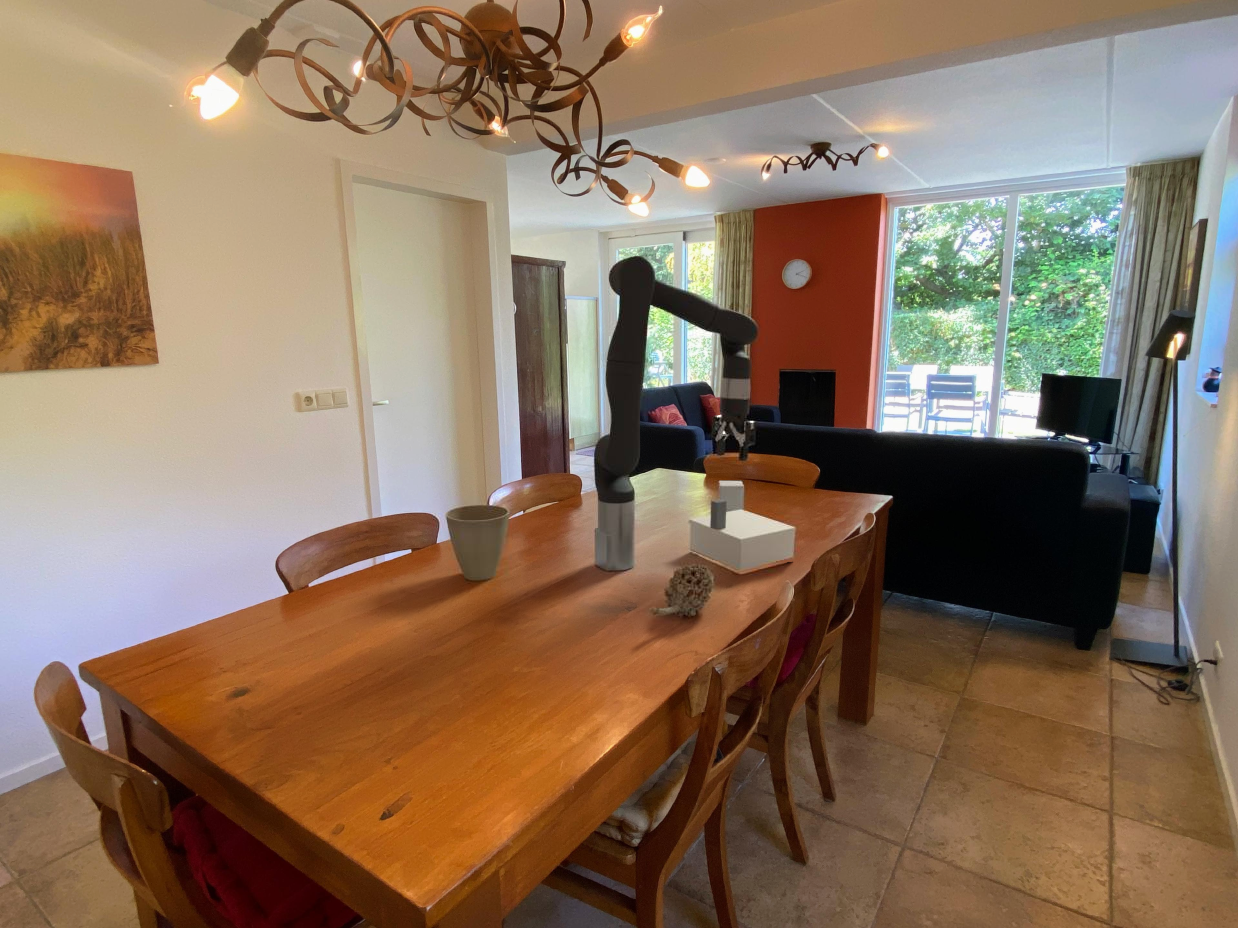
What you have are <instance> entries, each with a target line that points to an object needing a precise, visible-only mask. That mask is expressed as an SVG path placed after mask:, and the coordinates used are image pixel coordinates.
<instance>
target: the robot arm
mask: <svg viewBox="0 0 1238 928" xmlns="http://www.w3.org/2000/svg"><path fill="white" fill-rule="evenodd" d="M655 272H656V271H655V269H654V266H653V264H652V262H651V261H650V260H649V259H648V258H646V257H645V256H643V255H634V256H629V257H626V258H622V259H621V260H619V261H617V262H616V263H615V264H613V266H611V269H610V271H609V274H608V282H609V286H610V288H611V289H612V291H613V293H615V294H616V295H617V296H619V301H618V303H619V305H618V317H617V321H616V325H615V329H614V331H613V333H612V336H611V339H610V343H609V347H608V349H607V350H608V351H607V356H606V366H605V387H606V393H607V398H608V403H609V407H610V427H609V428H610V429H609V433H608V434H606V435H603V436H602V437H600V438H599V440H598V441H597V442H596V443H595V448H594V450H593V451H594V452H593V471H594V485H595V488H596V493H597V527H595V529H594V564H595V565H596V566H598V567H599V568H601V569H602V570H604V571H605V572H609V571H626V570H629V569H631V568H634V566H635V509H636V506H635V503H636V501H635V500H636V499H635V497H636V496H635V494H636V493H635V487H634V486H633V484H632V482H631V479H630V474H632V473H633V471H635V469H636V467H637V466H638V464H639V460H640V457H641V456H640V454H641V452H640V451H641V443H640V442H641V440H640V439H641V437H640V435H641V434H640V433H641V432H640V430H641V427H640V424H641V423H640V421H641V420H640V418H641V410H642V408H641V407H642V401H643V400H642V397H643V389H644V388H643V387H644V379H645V370H646V369H645V368H646V353H647V342H648V341H647V340H648V328H649V327H648V325H649V316H650V312H651V311H650V310H651V307H655V308H657V309H659V310H662V311H664V312H667V313H668V314H671V315H673V316H675V317H676V318H679V319H681V320H683V321H685V322H687V323H689V324H691V325H694V326H695V327H697V328H699V329H701V330H703V331H705V332H710V333H714V334H718V335H719V339H720V341H719V342H720V348H721V355H722V359H723V363H722V378H721V379H722V381H721V386H720V394H719V395H720V398H719V399H720V401H719V413H720V414H721V415H713V416H712V424H711V434H710V435H711V438H712V439H714V440H715V441H716V448H715V451H716V455H717V456H720V457H721V456H724V455H725V453H726V452H725V451H726V441H725V440H726V439H727V438H728V437H729V435H731V436H733V437H735V439H736V440H737V441H738V443H739V448H738V461H739V462H745V461H747V459H748V458H749V447H750V446H754V445H755V444H756V431H757V426H756V425H757V423H756V421H754V420H747V416H748V415H749V414H750V402H751V373H752V371H751V368H752V360H751V358H750V356H748V355H747V354H746V347H745V346H748V345H750V344H752V343H753V342H755V341H756V339H757V338H758V336H759V327H758V326H759V325H758V323H756V321H755V319H753V318H751V317H749V316H748V315H746V314H744V313H741V312H738V311H735V310H733V309H729V308H726V307H723V306H721V305H720V304H718V303H716V302H714V301H712V300H711V299H708V298H706V297H704V296H702V295H699V294H698V293H695V292H692V291H689V290H686V289H682V288H679V287H676V286H673V285H671V284H668V283H666V282H663V281H662V280H660V279H658V278H656V273H655Z"/></svg>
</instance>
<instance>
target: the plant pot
mask: <svg viewBox="0 0 1238 928" xmlns="http://www.w3.org/2000/svg"><path fill="white" fill-rule="evenodd" d="M509 515H510V510H509V509H508V508H507V507H504V506H500V505H493V504H492V505H491V504H471V505H464V506H459V507H454V508H451V509H449V510H447V512H445V518H446V519H445V520H446V523H447V524H446V525H447V528H448V529H447V530H448V533H449V538H450V541H451V545H452V549H453V551H454V555H455V559H456V561H457V563H458V565H459V568H460V571H461V573H462V574H463V576H464V578H465V579H467V580H468V581H479V582H480V581H487V580H490V579H492V578H494V577H495V576H496V573H497V570H498V568H499V565H500V561H501V558H502V555H503V552H504V547H505V542H506V537H507V533H508V527H509V518H510V517H509Z"/></svg>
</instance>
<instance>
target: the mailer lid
mask: <svg viewBox="0 0 1238 928" xmlns="http://www.w3.org/2000/svg"><path fill="white" fill-rule="evenodd" d="M688 524H690V525H691V524H692V525H694V526H697V527H699V528H702V529H704V530H707V531H709V532H712V533H714V534H717V535H719V536H722V537H724V538H727V539H729V540H732V541H734V542H737V543H739V544H743V543H748V542H752V541H757V540H762V539H766V538H771V537H775V536H780V535H784V534H789V533H794V532H795V533H796V530H797V528H796V526H792V525H789V524H786V523H783V522H780V521H777V520H774V519H771V518H768V517H765V516H762V515H759V514H756V513H753V512H750V511H747V510H744V509H743V510H742V509H740V510H735V511H729V512H726V501H724V500H721V499H719V498H718V499H714V500H711V501H710V514H708V515H703V516H698V517H693V518H688Z"/></svg>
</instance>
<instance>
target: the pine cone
mask: <svg viewBox="0 0 1238 928" xmlns="http://www.w3.org/2000/svg"><path fill="white" fill-rule="evenodd" d="M714 579H715V575H714V574H712V571H711V570H710V569H708V566H705V565H703V564H702V563H700V564H699V565H697V566H695V563H693V565H692V563H691V564H690V565H689V566H688V565H687V564H684V565H683V567H682V568H681V567H678V568H676V570H673V575H672V577H670V578H669V581H668V585H669V586H668V587H664V589H663V592H664V593H663V594H664V596H665V597H666V599H665V600H664V603H665V604H666V605H667V607H665V608H659V607H650V608H649V612H648V614H650V615H653V616H666V615H671V614H673V613H675V615H676V616H677V617H678V616H679V617H680V616H682V617H683V615H686V616H688V617H689V618H691V617H692V616H695V615H696V611H702V610H703V608H704V606H705V603H709V600H711V596H710V594H712V592H714V589H715V585H714V581H715V580H714Z"/></svg>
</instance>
